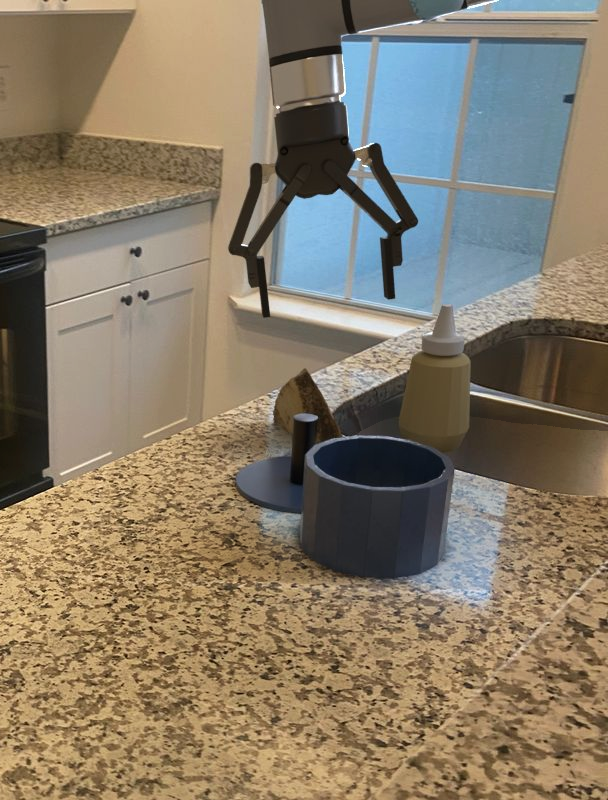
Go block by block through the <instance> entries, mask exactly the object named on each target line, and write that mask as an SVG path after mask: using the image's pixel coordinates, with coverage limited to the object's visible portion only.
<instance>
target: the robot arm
mask: <svg viewBox="0 0 608 800" xmlns="http://www.w3.org/2000/svg"><path fill="white" fill-rule="evenodd" d="M497 1H499V0H261V5H262V10H263V18H264V19H263V20H264V28H265V35H266V44H267V45H266V46H267V53H268V65H269V76H270V88H271V98H272V106H273V107H274V108H277V109H278V110H279V111H278V113H276V114H275V116H274V117H273V118H274V129H275V139H276V149H277V151H276V152H277V155H276V156H277V158H276V160H275V162H269V163H260V162H252V164H251V165H250V166H249V185H248V188H247V192H246V195H245V198H244V200H243V203H242V205H241V208H240V211H239V215H238V217H237V219H236V220H237V221H236V223H235V225H234V229H233V232H232V234H231V237H230V240H229V243H228V246H227V250H228V253H229V254H230V255H232V256H237V257H241V258H243V259H244V260H245V266H246V272H247V273H246V275H247V283H248V285H249V287H250V288H251V289H254V288H258V290H259V300H260V309H261V316H262V317H263V319H265V318H271V310H270V309H271V308H270V301H269V300H270V299H269V292H268V290H269V289H268V281H267V273H266V263H265V257H264V255H258V254H259V253H260V251H261V249H262V248H263V246H264V244H265V243H266V241H267V240H268V238H269V237H270V235H271V233H272V232H273V230H274V229H275V227H277V224H278V223H279V221H280V220H281V218H282V217H283V215H284V213H285V212H286V210H287V209H288V207H289V206H290V205H291V204H292V202H293V200H294V199H295V198H296V197H297V198H300V199H303V200H306V199H312V198H314V197H316V196H319V195H321V196H329V195H330V196H331V195H334V194H336V193H337V192H338V191H339V190H340V191H341V192H343V193H344V194H345V195H346V196H347V197H348V198H349V199H351V201H353V202H354V203H355V204H356V206H358V207H359V208H360V209H361V210H362V211H363V212H364V213H365V214H366V215H367V216H368V217H369V218H371V219H372V220H373V221H374V223H376V224H377V226H379V227H380V228H381V229H382V230H383V231H384V232H385V233H386V236H382V237H381V236H380V237H379V245H380V259H381V260H380V261H381V273H382V275H381V276H382V287H383V288H382V289H383V297H384V298H385V299H387V300H389V301H391V300H395V299H396V287H395V274H394V272H395V271H394V267H401V266H402V264H403V261H404V260H403V244H402V236H403V235H404V233H405V232H407V231H408V230H410V229H412V228H415V227H417V226H418V225H419V219H418V217H417V215H416V214H415V212H414V210H413V208H412V207H411V205H410V204H409V202H408V200H407V199H406V197H405V195H404V193H403V192H402V190H401V189H400V186H399V185H398V184H397V182H396V181H395V179H394V177H393V176H392V174H391V172H390V170H389V169H388V167H387V165H386V164H385V160H384V156H383V150H382V146H381V144H380V143H378V142H371V143H369V144H367V145H366V146H363V147H360V148H355V149H353V147H352V145H351V141H350V131H349V118H348V107H347V104H345V102H344V101H342V100H341V97H343V96H345V94H346V81H345V80H346V79H345V69H344V68H345V67H344V58H343V57H344V56H343V47H342V42H343V41H342V40H343V39H342V38H343V37H345V36H352V35H357V34H358V33H364V32H370V31H377V30H381V29H385V28H391V27H392V28H393V27H397V26H403V25H404V26H413V25H418V24H423V23H426V22H428V21H431V20H436V19H438V18H439V17H444V16H446V15H447V16H448V15H451V14H454V13H459V12H462V11H464V10H467V9H470V8H471V9H472V8H475V7H480V6H483V5H487V4H489V3H494V2H497ZM356 160H358V161H359V162H360V163H361V165H362V166H363V167H366V168H369V170H370V172H371V174H372V176H373V177H374V179H375V180H376V182H377V183H378V185H379V187H380V188H381V190H382V192H383V193H384V195H385V197H386V198H387V200H388V202H389V203H390V205H391V206H392V208H393V210H394V212H395V213H396V215H397V217H398V218H399V220H396V221H395V220H394V219H393V218H392V217H391V216H390V215H389V214H388V213H387V212H386V211H384V209H382V208H381V206H379V205H378V204H377V203H376V202H375V201H374V200H373V199H372V198H371V197H370V196H369V195H368V194H367V193H366V192H364V190H363V189H362V188H360V187H359V185H357V183H356V182H355V181H354V180H353V179H352V178H351V177H349V176H348V175H349V173H350V171H351V170H352V168H353V166H354V163H355V162H356ZM273 174H275V175H276V176H277V177H278V178H279V179H280V181H281V182H282V183H283V184H284V185H285V186H284V187H283V189H282V190H281V192H280V193H279V195H278V197H277V198H276V200H275V202H274V204H273V205H272V207H271V208H270V210H269V211H268V213H267V214H266V216H265V218H264V219H263V221H262V222H261V224H260V225H259V227H258V228H257V230H256V232H255V233H254V234H253V236H252V237H251V240H250V241H249V243H248V244H243V242H244V239H245V237H246V234H247V232H248V228H249V225H250V222H251V220H252V217H253V215H254V211H255V208H256V206H257V204H258V200H259V198H260V195H261V191H262V187H263V186H262V185H265V184H267V183H268V182H269V180H270V177H271V176H272V175H273Z"/></svg>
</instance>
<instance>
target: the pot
mask: <svg viewBox="0 0 608 800" xmlns="http://www.w3.org/2000/svg"><path fill="white" fill-rule="evenodd" d="M455 471H456V469H455V466H454V464H453V462H452V460H451V458H450V456H448V455H447V454H445V453H442V452H440V451H438V450H437V449H435V448H433V447H430V446H427V445H424V444H421V443H418V442H415V441H411V440H407V439H402V438H400V437H393V436H386V435H356V434H355V435H349V436H342V437H341V438H333V439H330V440H327V441H325V442H322V443H319V444H316V445H314V446H313V447H312V448H311V449H310V450H309V451H308V452H307V453H306V454H305V462H304V478H303V494H302V509H301V513H300V528H299V542H300V549H301V551H303V552H304V553H305V555H306V556H308V558H310V559H311V560H312V561H313V562H314V563H316V564H318V565H321V566H323V567H325V568H327V569H329V570H331V571H333V572H336V573H341V574H346V575H349V576H355V577H358V578H364V579H395V580H396V579H400V578H401V579H402V578H405V577H411V576H419V575H421V574H422V573H425V572H428V571H429V570H431V569H433V568H435V567H437V566H438V565H439V564H440V561H441V559H442V558H443V556H444V553H445V547H446V539H447V531H448V523H449V515H450V509H451V508H450V507H451V500H452V493H453V485H454V478H455Z"/></svg>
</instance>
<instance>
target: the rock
mask: <svg viewBox="0 0 608 800" xmlns="http://www.w3.org/2000/svg"><path fill="white" fill-rule="evenodd" d="M273 408H274V409H273V411H272V416H273V417H272V420H273V424H274V425H276V426H278V427H280V428H281V429H283V430H284V431H286V432H288V433H290V434H291V435H292V432H293V417H294V416H295V415H297V414H302V413H306V414H313V415H315V416H317V418H318V422H317V436H316V444H319V443H322V442H325V441H327V440H330V439H333V438H341V437H343V435H342V431H341V430H340V426H339V425H338V423H337V421H336V418H334V415H333V414H332V411H331V409H330V407H329V404H328V402H327V401H326V399H325V397H324V395H323V392H322V391H321V390H320V389H319V386H318V385H317V383H316V382H315V380H314V378H313V377H312V375H311V374H310V372H309V370H308V369H307V367H304V368H302V370H301V371H300V372H299V373H297V374H296V375H295V376H293V377H291V378H290V379H289V380H288V381H287V382H286V383H285V384H284V385H283V386H282V387H280V390H279V392H278V394H277V396H276V398H275V401H274V406H273Z"/></svg>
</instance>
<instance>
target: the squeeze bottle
mask: <svg viewBox="0 0 608 800" xmlns="http://www.w3.org/2000/svg"><path fill="white" fill-rule="evenodd" d="M437 315H438V316H437V319H436V321H435V323H434V327H433V330H432V331H431V332H426V333H424V334H423V335H422V337H421V339H422V340H421V346H420V349H421V350H419V351H417V352H416V353H415V354H413V355H412V357H411V359H410V360H411V361H410V365H409V369H408V375H407V377H406V378H407V379H406V383H405V388H404V393H403V398H402V403H401V406H400V411H399V417H398V427H399V430H400V435H401V439H407V440H411V441H415V442H418V443H421V444H424V445H427V446H430V447H433V448H435V449H437V450H438V451H440V452H442V453H443V454H445V453H451V452H454V451H456V450H458V449H459V448H460V446H461V444H462V442H463V441H464V439H465V436H466V434H467V433H468V430H469V429H470V411H471V410H470V407H471V369H472V368H471V367H472V366H471V363H472V362H471V359H470V358H469V356H468V355H467V354H466V353H463V352H464V350H465V344H466V343H465V342H466V338H465V336H463V335H462V334H459V333H457V332H456V322H455V313H454V305H453V304H450V303H442V304H441V306H440V310H439V312H438V314H437Z"/></svg>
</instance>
